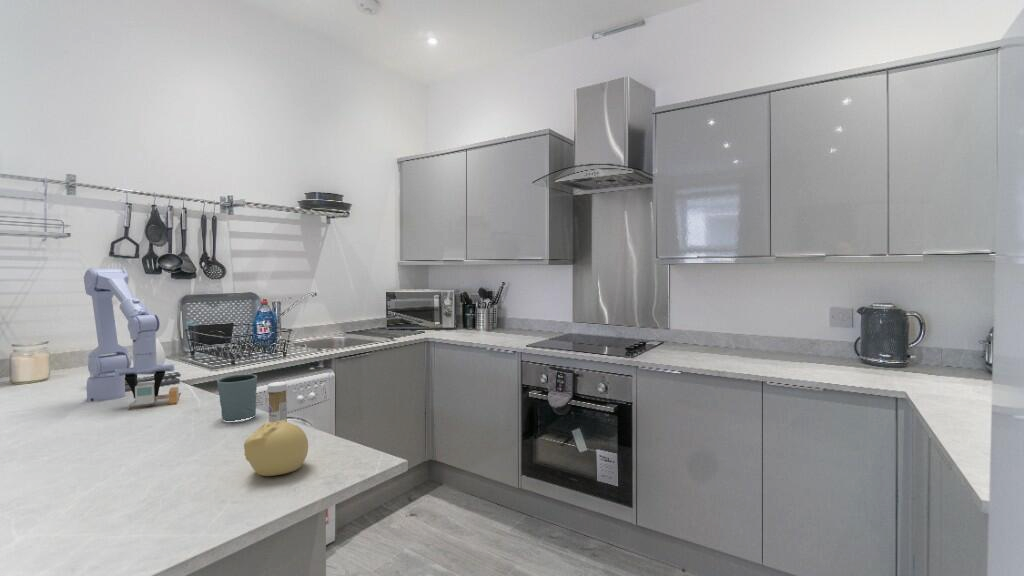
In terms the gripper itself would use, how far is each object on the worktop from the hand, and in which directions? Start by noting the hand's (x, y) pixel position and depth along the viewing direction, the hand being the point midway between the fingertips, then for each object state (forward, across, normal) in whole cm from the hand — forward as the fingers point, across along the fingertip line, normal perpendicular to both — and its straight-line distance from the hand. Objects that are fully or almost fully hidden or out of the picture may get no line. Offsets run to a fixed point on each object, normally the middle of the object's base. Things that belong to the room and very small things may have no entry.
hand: (146, 396), depth 148 cm
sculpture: (+4, +32, -70) cm, 77 cm away
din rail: (+3, +2, 0) cm, 3 cm away
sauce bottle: (+4, -6, +64) cm, 65 cm away
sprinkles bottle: (+4, +34, -44) cm, 56 cm away
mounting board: (+4, +2, +4) cm, 6 cm away
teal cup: (+4, +24, -24) cm, 35 cm away
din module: (+2, 0, 0) cm, 2 cm away
